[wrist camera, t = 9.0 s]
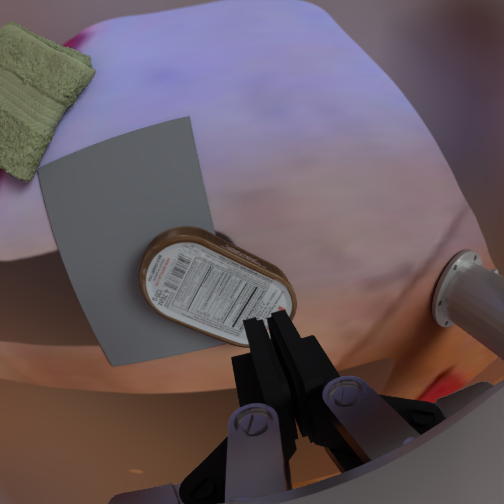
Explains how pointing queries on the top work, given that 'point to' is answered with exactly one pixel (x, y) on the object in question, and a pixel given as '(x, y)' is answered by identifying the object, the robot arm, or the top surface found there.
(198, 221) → the mat
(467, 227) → the top surface
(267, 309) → the tin
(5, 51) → the washcloth
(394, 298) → the top surface
